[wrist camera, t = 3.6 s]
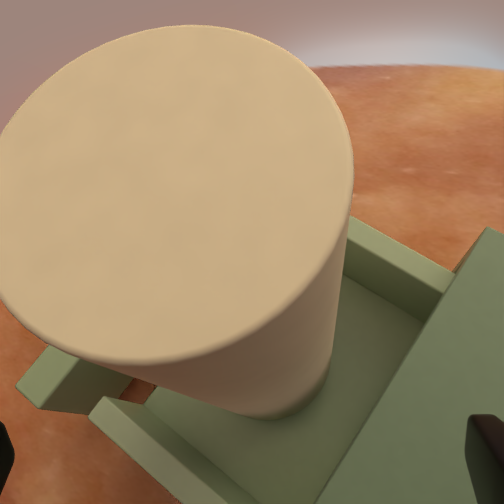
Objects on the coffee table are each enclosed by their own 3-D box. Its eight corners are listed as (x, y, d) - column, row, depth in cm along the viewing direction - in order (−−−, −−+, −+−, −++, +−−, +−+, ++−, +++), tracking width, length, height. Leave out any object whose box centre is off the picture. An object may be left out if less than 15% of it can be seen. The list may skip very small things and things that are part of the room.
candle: (281, 449, 16) (182, 467, 5) (178, 368, 18) (-101, 221, 6) (356, 336, 18) (432, 111, 6) (252, 269, 19) (140, -20, 7)
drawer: (16, 340, 21) (-66, 312, 16) (180, 148, 23) (147, 79, 19) (350, 637, 15) (363, 716, 11) (514, 344, 18) (578, 312, 13)
